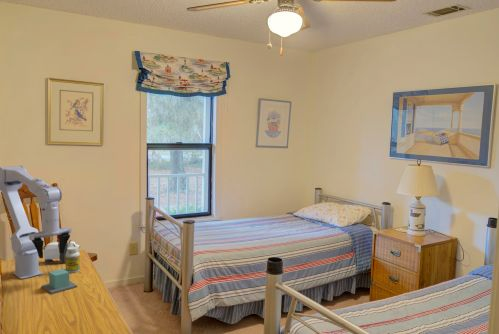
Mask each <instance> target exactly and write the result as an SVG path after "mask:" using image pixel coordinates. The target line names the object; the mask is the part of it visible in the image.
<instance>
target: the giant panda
mask: <svg viewBox="0 0 499 334" xmlns="http://www.w3.org/2000/svg"><path fill="white" fill-rule="evenodd" d="M69 247H78V250H79V249H80V248H81V245H79V244H77V243H76V242H75V241H72V240H71V239H69V240H68V242H67V244H66V247H65V251H64V253H63V254H62V253H60V244H59V242H58V241H52V242H49V243H48V244H46V245H43V258H44V263H45V265H52V264H53V262H54V260H59V261H60V262H59V263H60V264H61V265H62V264H63V265H64V264H65V265H66V257H65V256H66V254H67V253H68V252H67V248H69Z"/></svg>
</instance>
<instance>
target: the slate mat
mask: <svg viewBox="0 0 499 334" xmlns="http://www.w3.org/2000/svg"><path fill="white" fill-rule="evenodd" d="M41 288H42V289H44V290H45V291H47V292H48V293H50V294H51V295H54V294H57V293H60V292H64V291H67V290H72V289H75V288H78V285H77V284H76V283H75V282H72V281H70V280H69V286H66V287H62V288H58V289H54V288H52V287H51V286H49V283H46V284H43V285H41Z"/></svg>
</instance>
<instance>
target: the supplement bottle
mask: <svg viewBox="0 0 499 334" xmlns="http://www.w3.org/2000/svg"><path fill="white" fill-rule="evenodd" d="M67 252H68V253H67V254H66V256H65V257H66V264H65V270H66V271H68V272H69V274H72V273H73V274H74V273H78V272H79V271H80V270H81V254H80V252H79V249H78V247H69V248H67Z"/></svg>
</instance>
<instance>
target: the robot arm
mask: <svg viewBox="0 0 499 334" xmlns="http://www.w3.org/2000/svg"><path fill="white" fill-rule="evenodd" d="M23 185H25V186H27V189H28V191H29V192H30V193H32V194H33V195H35V196H36V197H37V200H38V202H39V208H40V209H41V231H39V230H38V229H37V228H35V227H33V226H31V224H30V222H29V220H28V219H29V218H28V216H27V214H26V211H25V209H24V206H23V205H24V204H23V203H22V200H21V198H20V194H19V191H18V190H19V189H21V188H22V187H23ZM0 192H1V194H2V197H3V199H4V202H5V205H6V208H7V210H8V214H9V216H10V218H11V221H12V224H13V227H14V229H15V231H14V233H12V234H11V236H10V241H11V250H12V251H13V252H14V253H15V255H14V271H12V273H13V275H15V276H16V277H18V278H19V279H21V280H23V279H28V278H31V277H36V276H40V275H43V272H42V271H41V270H40V267H39V261H40V260H39V259H43V258H44V250H43V248H44V242H45V240H44V238H48V237H49V238H50V237H55V236H58V241H59V242H58V243H59V244H60V253H62V254H63V253H64V251H65V247H66V244H67V243H68V242H69V240H70V237H71V234H72V228H71V227H63V228H62V227H61V228H60V209H59V208H60V206H59V205H60V204H59V202H60V201H61V200H62V197H63V193H62V189H61V188H59V186H57V185H56V186H51V185H50V183H47V182H45V181H44V180H43V179H42V178H41V177H38V178H34V177H33V176H32V175H31V174H29V173H28V170H27V167H25V166H23V165H18V166H17V165H16V166H0Z"/></svg>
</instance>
